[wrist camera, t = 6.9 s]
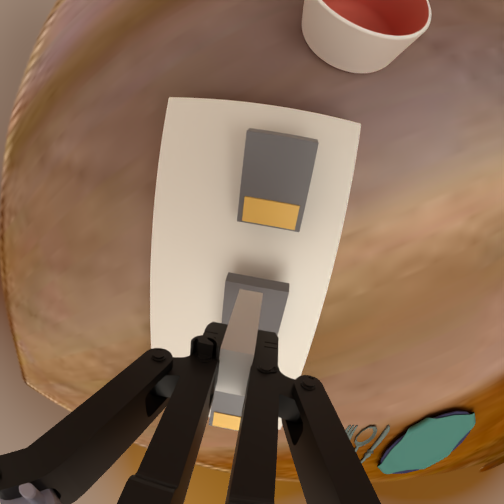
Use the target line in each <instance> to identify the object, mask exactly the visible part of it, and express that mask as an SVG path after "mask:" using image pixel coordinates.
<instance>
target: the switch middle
mask: <svg viewBox="0 0 504 504" xmlns="http://www.w3.org/2000/svg"><path fill="white" fill-rule="evenodd" d="M240 289H243V290H248V291H254V292H260V293H263V296H262V304H261V311H260V318H259V325H258V330H264V331H269V332H275V333H276V335H277V336H278V332H279V328H280V325H281V321H282V317H283V314H284V310H285V306H286V302H287V298H288V295H289V283H285V282H279V281H274V280H268V279H263V278H257V277H252V276H246V275H241V274H235V273H230V272H228V275H227V278H226V280H225V289H224V300H223V311H222V324H227V325H228V324H229V320H230V317H231V314H232V311H233V308H234V305H235V302H236V299H237V296H238V293H239V290H240Z"/></svg>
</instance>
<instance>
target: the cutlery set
mask: <svg viewBox="0 0 504 504" xmlns="http://www.w3.org/2000/svg"><path fill="white" fill-rule="evenodd" d="M474 425H475V413H474V412H471V414H469V413H468V412H467V411H453V412H448V413H444V414H441V415H439V416H437V417H434V418H425V419H424V420H422V421H420V422H419V423H417V424H415V425H413V426H411V427H410V428H409V429H408V431H407V433H405V434H404V435H403V436H401V437H400V438H398V439H397V440H396V441H395V442H394V443H393V444H392V445H391V446H390V447H389V448H388V449H387V450H386V451H385V453H384V455H383V456H382V458H381V464H378V465H377V467H378V468H379V469H380V470H381V471H382V472H383V473H385V474H391V473H393V474H397V473H408V472H412V471H416V470H419V469H425V468H427V467H429V466H431V465H432V464H435V463H436V462H439V461H440V460H442V459H443V458H445V457H447V456H448V455H449V454H450V453H451V452H452V451H453V450H454V449H455V448H456V447H457V446H458V445H460V444H461V443H462V442H463V440H464V439H465V438H466V436H467V435H468V434H469V432H470V430H471V429H472V428H473V426H474ZM350 426H351V425H349V426H348V427H347V429H346V430H345V431H346V433H347V435H348V437H349V439H351V437H352V435H353V433H354V431H355V429H356V428H357V426H358V425H356V426H355V427H354V425H352V427H351V428H350ZM353 427H354V429H353V430H352V428H353ZM349 428H350V430H349V431H348V429H349ZM368 428H373V431H374V432H373V434H372V436H371V437H370V438H369V439H368V440H366V441H364V442H357V440H355V444H356V448H355V449H354V450H355V452H356V451H357V450H358V448H359V447H360V446H363V445H365V444H367V443H369V442H370V441H371V440H372V439H373V438H374V437H375V435H376V433H377V429H376V427H368ZM366 429H367V428H366ZM366 429H364V430H366ZM351 430H352V431H351ZM364 430H363V431H364ZM389 430H390V426H389V425H388V426H387V427H386V428H385V430H384V431H383V433H382V434H381V435H380V437H379V438H378V439H377V441H376V442H375V443H374V445H373V446H372V447H371V448H370V449H368V450H367V453H365V455H364V458H363V459H362V460H361V463H363V462H364V461H365V459H366V458H368V457H370V455H371V453H373V450H374V449H375V448H376V447H377V446H378V445H379V444H380V442H381V441H382V440H383V439H384V437H385V436H386V435H387V433H388V432H389ZM347 431H348V432H347ZM350 432H351V433H350ZM361 432H362V431H361ZM361 432H360V433H361ZM360 433H359V434H360ZM359 434H358V435H359ZM358 435H357V436H358ZM356 439H357V437H356Z"/></svg>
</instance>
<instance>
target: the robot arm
mask: <svg viewBox="0 0 504 504" xmlns="http://www.w3.org/2000/svg"><path fill="white" fill-rule="evenodd" d="M262 296H263V293H260V292H254V291H248V290H243V289H240V290H239V293H238V296H237V299H236V302H235V305H234V308H233V311H232V314H231V317H230V320H229V324H228V325H227V324H222V323H217V322H211V323H210V324H208V325H207V326H206V328H205V331H204V333H203V335H200V336H196V337H194V338H193V339H192V340H191V348H190V356H187V357H173V356H172V354H171V353H170V352H169V351H168V350H166V349H163V348H153V349H150V350H148V351H146V352H145V353H144V354H143V355H142V356H140V357H139V358H138V359H137V360H135V361H134V362H133V363H132V364H131V365H129V366H128V367H127V368H126V369H124V370H123V371H122V372H121V373H120V374H118V375H117V376H116V377H115V378H113V379H112V380H111V381H110V382H108V383H107V384H106V385H105V386H104V387H102V388H101V389H100V390H99V391H97V392H96V393H95V394H94V395H92V396H91V397H90V398H89V399H87V400H86V401H85V402H84V403H82V404H81V405H80V406H79V407H77V408H76V409H75V410H74V411H73V412H71V413H70V414H69V415H68V416H66V417H65V418H64V419H63V420H61V421H60V422H59V423H58V424H56V425H55V426H54V427H52V428H51V429H50V430H49V431H48V432H46V433H45V434H44V435H43V436H41V437H40V438H39V439H37V440H36V441H35V442H34V443H32V444H31V445H30V446H29V447H27V448H25V449H21V450H18V451H15V452H11V453H8V454H4V455H0V502H1V504H71V503H73V502H75V501H76V500H77V499H78V498H79V497H80V496H82V495H83V494H84V493H85V492H86V491H87V490H88V489H89V488H90V487H91V486H92V485H93V484H94V483H95V482H96V481H97V480H98V479H99V478H100V477H101V476H102V475H103V474H104V473H105V472H106V471H107V470H108V469H109V468H110V467H111V466H112V465H113V464H114V463H115V461H116V460H117V459H118V458H119V457H120V456H121V455H122V454H123V453H124V452H125V451H126V450H127V449H128V448H129V446H131V444H132V443H133V442H134V441H135V440H136V439H137V438H138V437H139V436H140V435H141V434H142V433H143V431H144V430H145V429H146V428H147V427H148V426H149V425H150V424H151V423H152V422H153V420H154V419H155V418H156V417H157V416H158V415H159V414H160V413H161V412H162V410H163V409H164V408H165V407H166V408H165V411H164V413H163V415H162V417H161V420H160V422H159V424H158V426H157V428H156V431H155V433H154V435H153V437H152V440H151V442H150V444H149V446H148V449H147V451H146V453H145V456H144V458H143V460H142V462H141V464H140V467H139V469H138V471H137V473H136V474H135V475H132V476H130V478H129V479H128V481H127V482H126V485H125V487H124V489H123V491H122V494H121V496H120V498H119V500H118V503H117V504H183V503H184V500H185V496H186V492H187V489H188V486H189V482H190V479H191V475H192V472H193V469H194V465H195V462H196V458H197V455H198V451H199V448H200V444H201V441H202V437H203V434H204V430H205V427H206V423H207V420H208V416H209V413H210V409H211V406H212V402H213V399H214V391H220V392H225V393H230V394H235V395H241V396H245V398H244V403H243V408H242V412H241V413H242V414H241V420H240V426H239V431H238V437H237V443H236V448H235V454H234V459H233V465H232V470H231V475H230V481H229V486H228V491H227V497H226V502H225V504H274V494H275V478H276V460H277V440H278V417H279V418H281V421H282V425H283V428H284V431H285V435H286V438H287V441H288V444H289V448H290V451H291V454H292V458H293V461H294V464H295V467H296V471H297V474H298V477H299V480H300V483H301V486H302V489H303V493H304V496H305V499H306V502H307V504H381V503H380V501H379V499H378V497H377V495H376V493H375V491H374V488H373V486H372V484H371V482H370V480H369V478H368V476H367V474H366V472H365V470H364V468H363V466H362V464H361V462H360V460H359V458H358V456H357V454H356V452H355V450H354V448H353V446H352V444H351V442H350V439H349V437H348V435H347V433H346V431H345V429H344V427H343V425H342V423H341V421H340V419H339V417H338V415H337V413H336V411H335V409H334V407H333V405H332V403H331V401H330V399H329V397H328V395H327V393H326V391H325V389H324V387H323V385H322V383H321V382H320V381H319V380H318V379H317V378H315V377H312V376H308V375H303V376H299V377H297V378H296V379H292V378H289V377H287V376H285V375H284V374H282V373H281V372H280V370H279V367H278V340H279V338H278V336H277V335H276V333H275V332H269V331H264V330H258V325H259V318H260V311H261V304H262Z"/></svg>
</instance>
